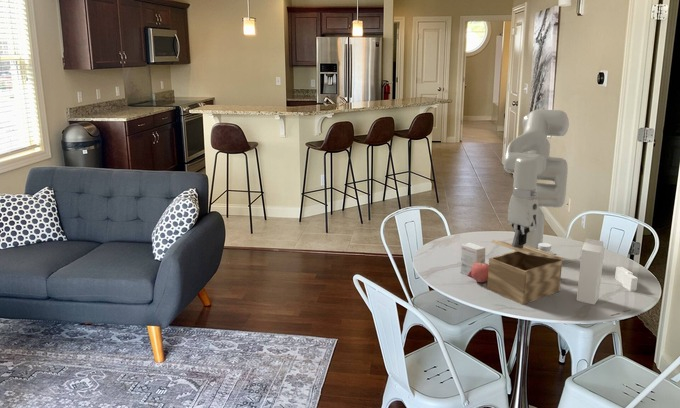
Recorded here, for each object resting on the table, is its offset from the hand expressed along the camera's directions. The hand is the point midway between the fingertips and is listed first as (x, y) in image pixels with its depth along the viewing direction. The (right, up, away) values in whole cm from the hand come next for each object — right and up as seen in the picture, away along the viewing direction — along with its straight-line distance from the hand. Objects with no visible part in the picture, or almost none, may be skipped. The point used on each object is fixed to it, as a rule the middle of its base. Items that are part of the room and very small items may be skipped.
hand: (520, 243), depth 201 cm
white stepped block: (+42, -17, +11) cm, 47 cm away
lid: (+3, -3, +3) cm, 5 cm away
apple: (-10, -16, +14) cm, 24 cm away
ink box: (-12, -14, +22) cm, 28 cm away
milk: (+23, -20, -2) cm, 30 cm away
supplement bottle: (+15, -14, +20) cm, 28 cm away
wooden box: (+3, -18, +7) cm, 19 cm away
